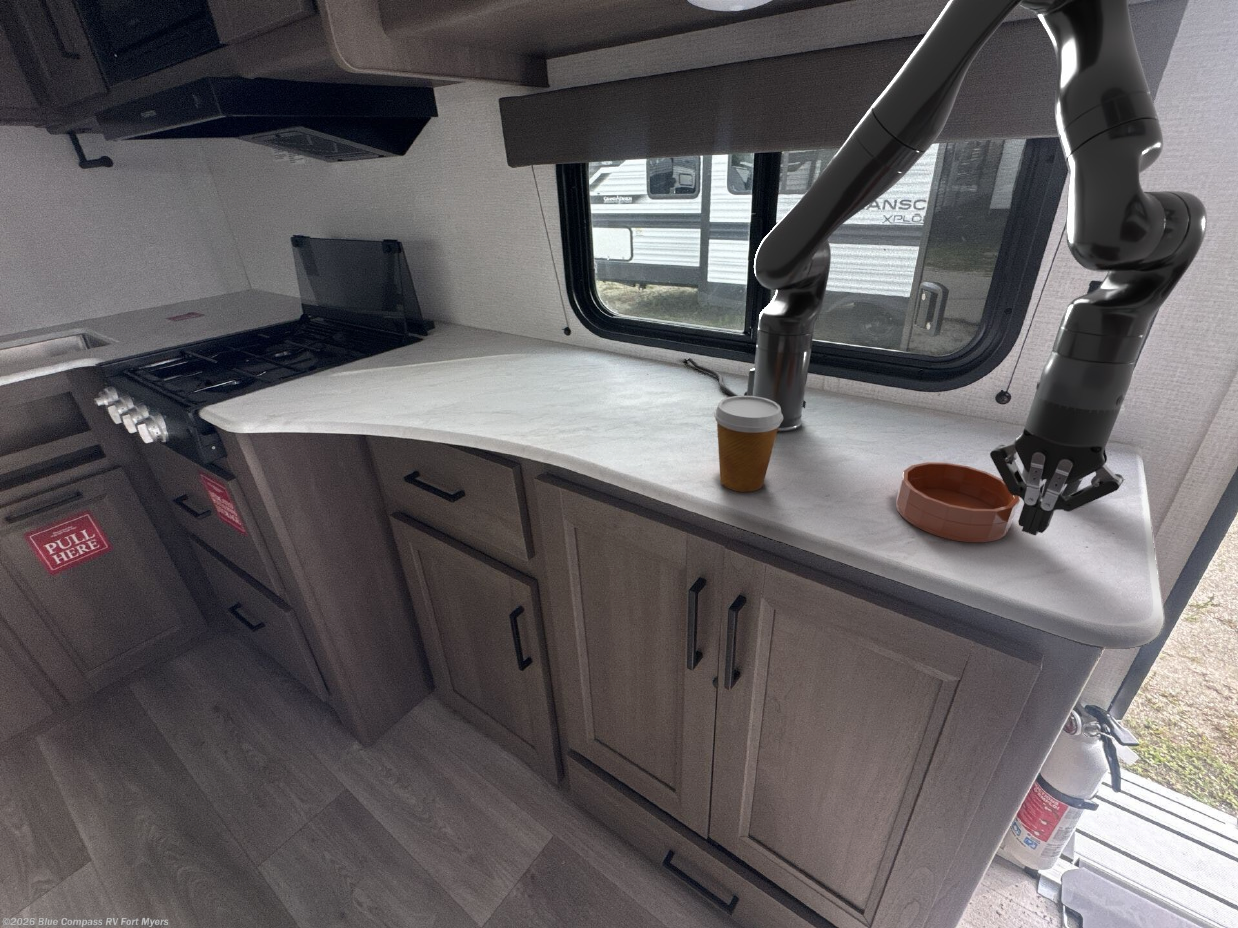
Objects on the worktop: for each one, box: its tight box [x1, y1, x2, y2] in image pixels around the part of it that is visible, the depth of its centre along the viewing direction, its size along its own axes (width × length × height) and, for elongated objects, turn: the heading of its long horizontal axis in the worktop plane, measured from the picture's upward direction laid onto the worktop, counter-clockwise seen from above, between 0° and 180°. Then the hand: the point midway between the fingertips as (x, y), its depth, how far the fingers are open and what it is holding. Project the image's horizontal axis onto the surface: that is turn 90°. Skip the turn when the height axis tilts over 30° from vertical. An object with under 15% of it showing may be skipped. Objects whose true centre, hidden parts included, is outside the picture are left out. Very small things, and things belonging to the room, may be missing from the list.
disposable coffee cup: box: [713, 395, 783, 493], centre depth 81 cm, size 10×10×12 cm
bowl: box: [895, 461, 1020, 543], centre depth 74 cm, size 13×13×4 cm
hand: (1030, 530), depth 69 cm, fingers closed
